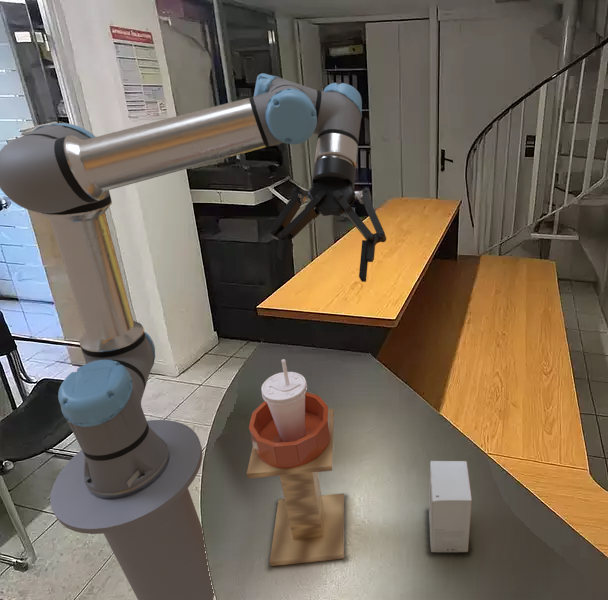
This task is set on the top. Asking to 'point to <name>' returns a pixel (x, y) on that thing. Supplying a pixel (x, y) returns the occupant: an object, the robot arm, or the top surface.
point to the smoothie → (286, 403)
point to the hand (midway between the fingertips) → (323, 278)
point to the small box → (449, 506)
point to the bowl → (295, 451)
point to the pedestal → (304, 511)
